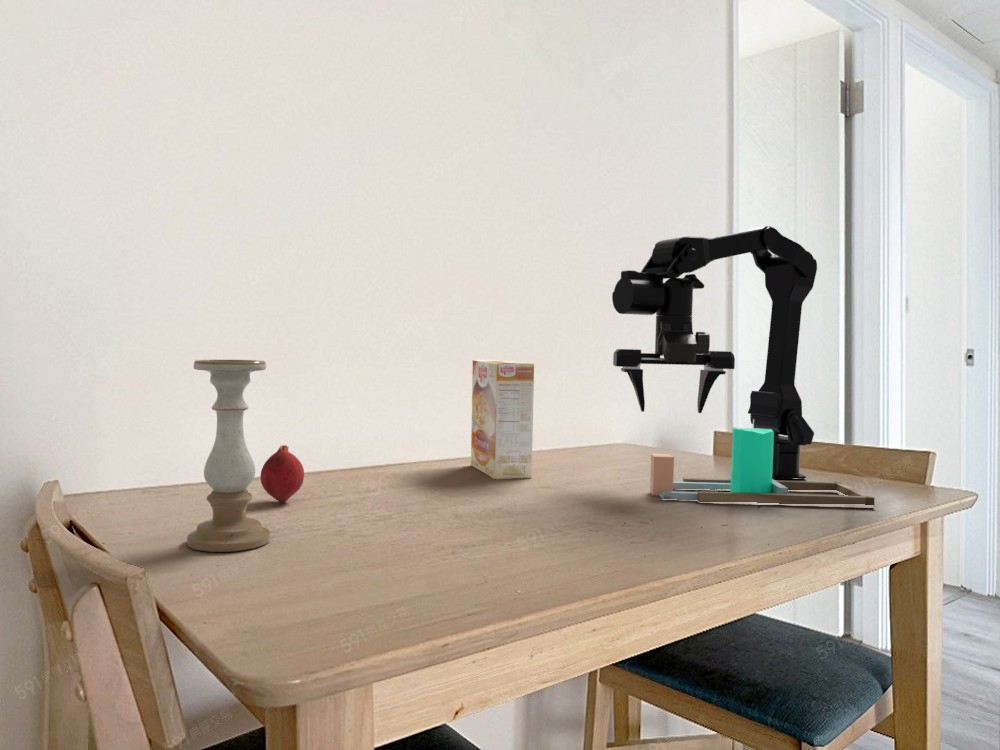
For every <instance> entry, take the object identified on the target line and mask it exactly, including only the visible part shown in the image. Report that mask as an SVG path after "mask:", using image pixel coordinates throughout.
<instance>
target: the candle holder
mask: <svg viewBox="0 0 1000 750" xmlns="http://www.w3.org/2000/svg"><path fill="white" fill-rule="evenodd" d="M193 369H194V370H197V371H205V372H208V373H210V379H209V382H210V384H211V385H212V386H214V388H215V391H216V392H217V398H216V400H215V402H213V405H212V406H211V409H212V410H214V411H215V413H216V433H215V440H214V442H213V446H212V447H211V451H210V452H209V455H208V456H207V459H206V462H205V465H204V469H203V477H204V481H205V483H206V485H208V487H210V488H211V490H212V491H211V492H210V493H209V494H208V495H207V496H206V501H207V502H208V503H209V504H210V507H211V510H212V519H208V520H204V521H202V522H200V523H199V524H198V525H197V526H196V529H195V530H193V531H191V532H190V533H188V534H187V538H186V543H187V546H188V548H190V549H192V550H195V551H199V552H200V551H201V552H210V553H211V552H212V553H216V552H217V553H230V552H240V551H246V550H251V549H252V550H253V549H256V548H259V547H262V546H264V545H266V544H268V543H269V542H270V540H271V532H270V530H269V529H268V528H267V527H263V526H262V523H261V521H259V519H255V518H251V517H247V515H246V513H247V508H248V505H249V502H251V500H252V498H253V495H252V493H251V492H249V491H248V490H247V488H248V487H249V486H250V485H251V484H252V482H253V480H255V479H254V478H255V477H256V466H255V463H254V461H253V457H252V455H251V453H250V450H249V449H248V446H247V443H246V441H245V436H244V413H245V411H247V410H248V409H249V406H248V404H247V403H246V401H245V399H244V391H245V388H246V387H247V386H248V385H249V384H250V382H251V373H253V372H257V371H258V372H259V371H266V370H267V363H266V361H264V360H256V359H255V360H254V359H253V360H251V359H197V360H196V359H195V361H194V363H193Z"/></svg>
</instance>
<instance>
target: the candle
mask: <svg viewBox="0 0 1000 750" xmlns="http://www.w3.org/2000/svg"><path fill="white" fill-rule="evenodd" d="M731 437H732V440H731V444H732V445H731V461H730V462H731V465H730V466H731V467H730V468H731V469H730V479H731V490H730V492H741V493H772V479H773V478H772V472H773V446H774V432H773V431H772V429H759V428H754V419H753V424H752V428H737V427H734V426H733V427H732V436H731Z"/></svg>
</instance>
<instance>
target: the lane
mask: <svg viewBox="0 0 1000 750" xmlns="http://www.w3.org/2000/svg"><path fill="white" fill-rule="evenodd" d="M774 480H775V479H774ZM775 481H777V482H778V483H780V484H782V485H784V486H785V487H787V488H788V490H837V491H839V492H841V493H843V494H845V495H848V496H844V495H838V494H811V493H806V494H804V493H803V494H800V493H788V494H776V493H741V492H718V491H697V492H698V501H699V502H757V503H779V504H865V505H874V506H875V497H874V496H872V495H869V494H867V493H865V492H863V491H861V490H859V489H856V488H854V487H852V486H849V484H848V485H847V484H846V483H843V482H841V481H813V480H812V481H809V480H775ZM682 482H706V483H731V478H709V477H708V478H707V477H706V478H704V477H683V478H682Z"/></svg>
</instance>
